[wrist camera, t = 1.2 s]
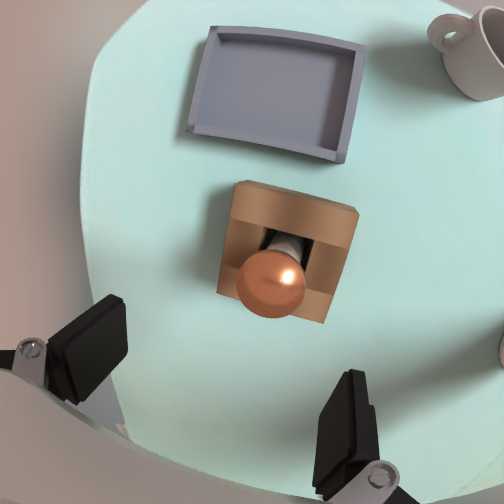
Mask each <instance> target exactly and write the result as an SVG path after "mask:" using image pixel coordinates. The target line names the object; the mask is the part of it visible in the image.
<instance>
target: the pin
mask: <svg viewBox="0 0 504 504" xmlns="http://www.w3.org/2000/svg"><path fill="white" fill-rule="evenodd" d="M303 250H304V239H303V237H302V236H298V235H294V234H291V233H287V232H283V231H279V232H277V234H276V235H275V236H274V238H273V239H272V241H271V243H270V244H269V246H268V247H267V249H266V250H261V251H258V252H256V253H254V254H253V255H251V256H250V257H249V258H248V259H247V260H246V261H245V263H244V264H243V265H242V266H241V268H240V270H239V272H238V274H237V277H236V290H237V294H238V296H239V298H240V300H241V302H242V303H243V304H244V306H245V307H246V308H247V309H249V310H250V311H251V312H253V313H255V314H257V315H259V316H262V317H266V318H281V317H284V316H287V315H289V314H291V313H292V312H294V311H295V310H296V309H297V308H298V307H299V306H300V304H301V303H302V301H303V298H304V295H305V289H306V276H305V272H304V270H303V268H302V266H301V265H300V263H301V258H302V254H303Z"/></svg>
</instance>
